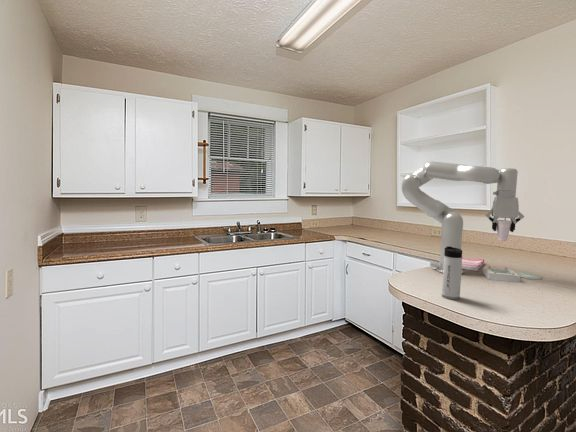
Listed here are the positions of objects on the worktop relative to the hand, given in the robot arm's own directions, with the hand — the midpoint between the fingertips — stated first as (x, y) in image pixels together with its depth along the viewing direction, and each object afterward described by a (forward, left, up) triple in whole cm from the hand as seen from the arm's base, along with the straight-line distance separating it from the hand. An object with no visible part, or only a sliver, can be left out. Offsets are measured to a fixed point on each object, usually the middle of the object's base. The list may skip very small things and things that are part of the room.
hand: (503, 230), depth 145 cm
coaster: (+14, +8, -23) cm, 28 cm away
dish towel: (-12, +22, -24) cm, 35 cm away
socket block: (0, 0, -23) cm, 23 cm away
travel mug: (-27, -41, -24) cm, 54 cm away
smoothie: (0, 0, -5) cm, 5 cm away
